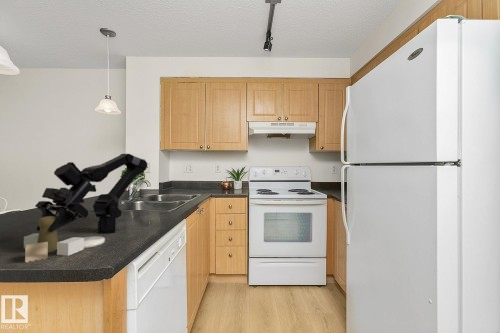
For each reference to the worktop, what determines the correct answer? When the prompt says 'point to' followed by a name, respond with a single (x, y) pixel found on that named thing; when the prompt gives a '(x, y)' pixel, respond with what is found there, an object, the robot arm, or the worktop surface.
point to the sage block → (31, 239)
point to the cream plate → (93, 241)
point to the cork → (47, 232)
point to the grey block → (70, 246)
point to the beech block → (36, 251)
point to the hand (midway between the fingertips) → (43, 230)
